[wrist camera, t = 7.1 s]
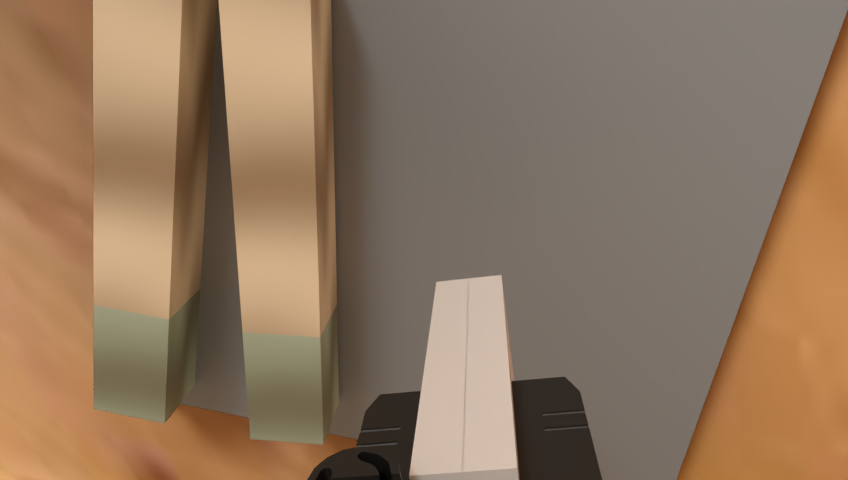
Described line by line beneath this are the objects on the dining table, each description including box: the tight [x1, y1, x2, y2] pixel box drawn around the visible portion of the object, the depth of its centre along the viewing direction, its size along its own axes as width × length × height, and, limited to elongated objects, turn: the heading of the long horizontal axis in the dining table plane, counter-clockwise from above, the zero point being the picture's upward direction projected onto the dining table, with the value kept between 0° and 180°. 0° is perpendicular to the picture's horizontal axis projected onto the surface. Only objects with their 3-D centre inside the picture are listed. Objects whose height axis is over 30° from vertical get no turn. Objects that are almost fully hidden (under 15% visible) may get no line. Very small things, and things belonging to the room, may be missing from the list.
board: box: [180, 0, 848, 480], centre depth 22 cm, size 22×22×1 cm
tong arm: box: [219, 0, 339, 445], centre depth 21 cm, size 15×2×2 cm, turn 178°
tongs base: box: [93, 0, 217, 423], centre depth 20 cm, size 20×5×4 cm, turn 170°
